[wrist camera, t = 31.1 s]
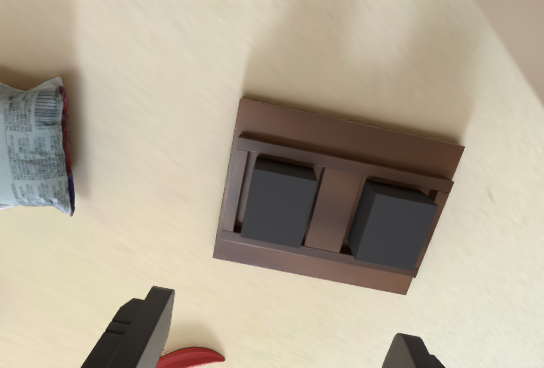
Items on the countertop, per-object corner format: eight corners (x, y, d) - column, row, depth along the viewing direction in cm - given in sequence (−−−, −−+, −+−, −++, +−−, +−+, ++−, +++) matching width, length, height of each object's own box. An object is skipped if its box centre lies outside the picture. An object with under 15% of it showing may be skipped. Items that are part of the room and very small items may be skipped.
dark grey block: (365, 179, 29) (376, 193, 26) (421, 190, 30) (439, 205, 26) (346, 240, 31) (354, 260, 28) (399, 250, 32) (413, 271, 28)
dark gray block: (256, 156, 29) (253, 167, 26) (313, 168, 29) (318, 180, 26) (244, 219, 31) (239, 237, 28) (298, 230, 31) (300, 249, 28)
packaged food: (-5, 196, 32) (-53, 218, 27) (-26, 63, 28) (-85, 62, 24) (89, 206, 32) (57, 230, 28) (81, 76, 28) (42, 77, 24)
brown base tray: (241, 97, 29) (238, 100, 26) (458, 143, 29) (473, 150, 27) (215, 251, 33) (209, 265, 31) (401, 287, 34) (410, 304, 32)
